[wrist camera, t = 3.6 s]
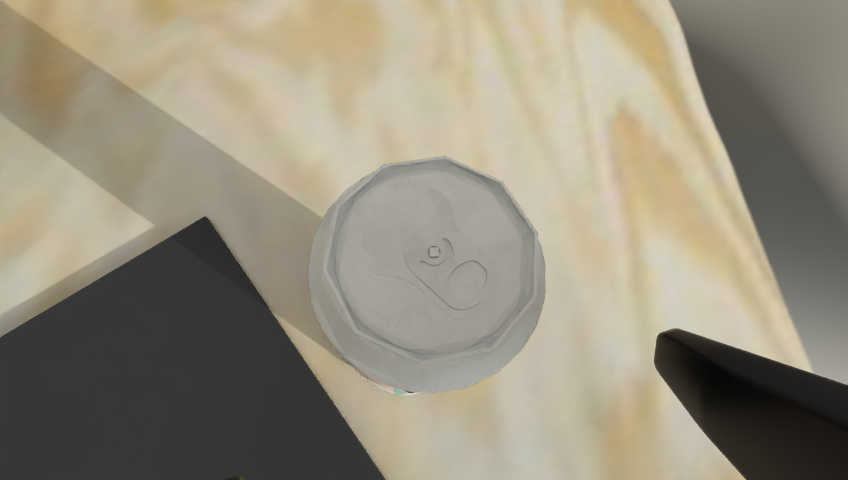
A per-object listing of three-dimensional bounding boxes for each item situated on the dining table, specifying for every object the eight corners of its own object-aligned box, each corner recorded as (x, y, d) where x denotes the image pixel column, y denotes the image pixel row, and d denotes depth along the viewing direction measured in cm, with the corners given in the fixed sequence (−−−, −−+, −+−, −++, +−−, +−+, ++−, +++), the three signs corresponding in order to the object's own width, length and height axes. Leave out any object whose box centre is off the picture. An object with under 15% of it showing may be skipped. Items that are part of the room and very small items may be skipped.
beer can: (404, 263, 20) (426, 95, 9) (481, 334, 19) (614, 248, 8) (327, 340, 19) (239, 255, 7) (408, 420, 18) (445, 461, 7)
